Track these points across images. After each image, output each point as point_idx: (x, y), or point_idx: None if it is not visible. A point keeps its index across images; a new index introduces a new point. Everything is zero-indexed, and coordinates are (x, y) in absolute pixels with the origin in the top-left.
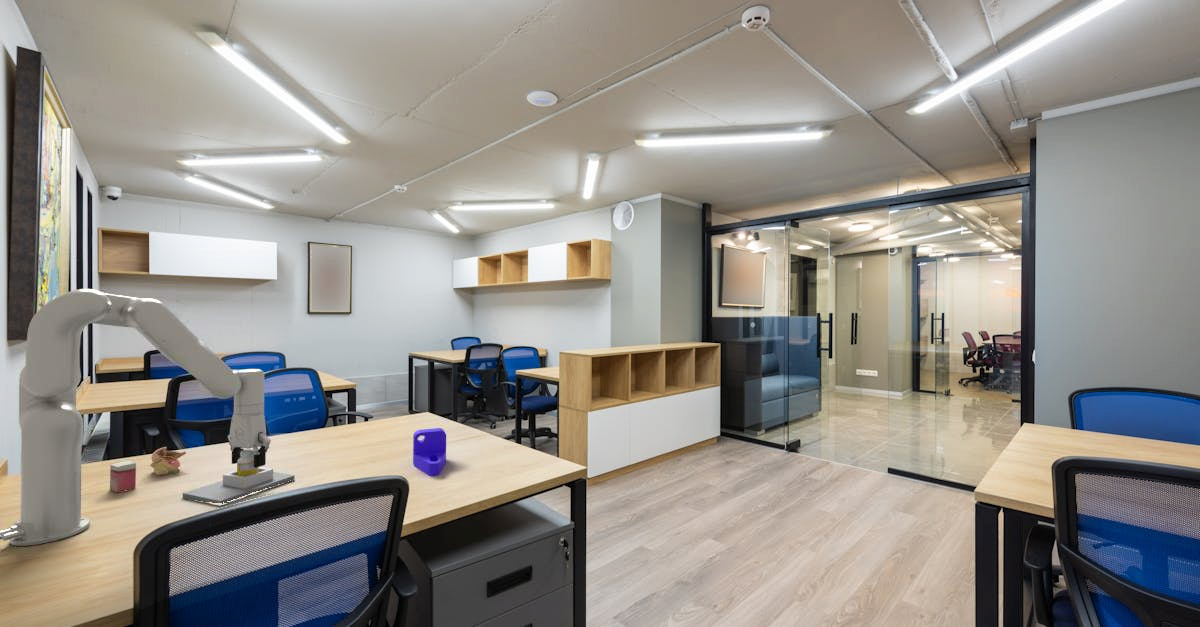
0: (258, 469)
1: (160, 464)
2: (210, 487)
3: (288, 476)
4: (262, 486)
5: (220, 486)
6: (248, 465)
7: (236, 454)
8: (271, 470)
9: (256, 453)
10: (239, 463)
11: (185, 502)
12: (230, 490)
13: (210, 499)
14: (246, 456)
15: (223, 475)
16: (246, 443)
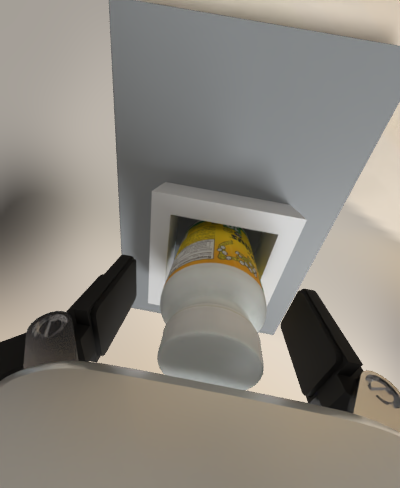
0: None
1: None
2: (319, 163)
3: None
4: (120, 215)
5: (282, 183)
6: (175, 266)
7: (314, 344)
8: (149, 295)
9: (69, 324)
10: (219, 262)
11: (343, 9)
12: (196, 150)
13: (187, 10)
14: (183, 309)
15: (300, 217)
16: (36, 457)
